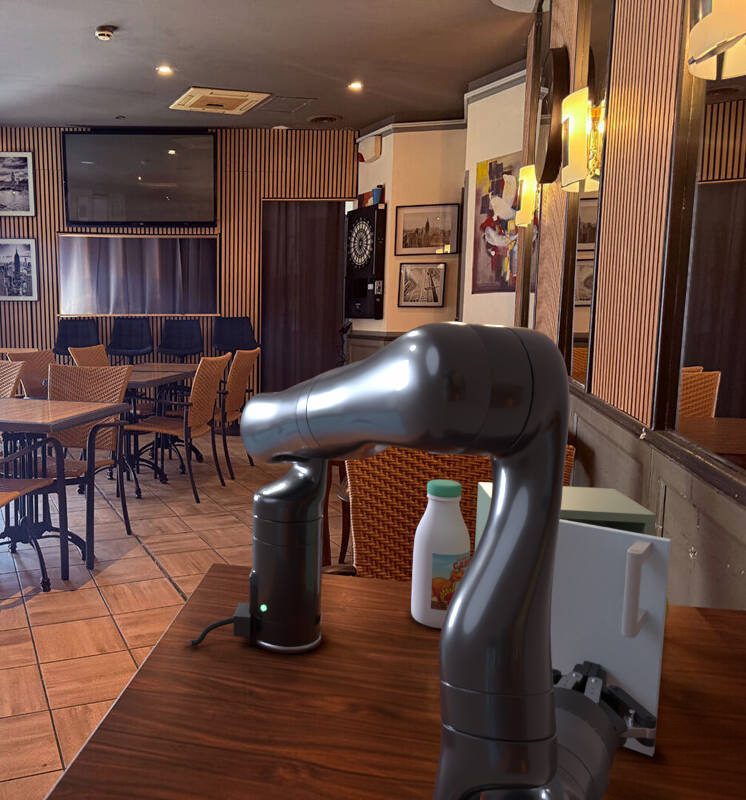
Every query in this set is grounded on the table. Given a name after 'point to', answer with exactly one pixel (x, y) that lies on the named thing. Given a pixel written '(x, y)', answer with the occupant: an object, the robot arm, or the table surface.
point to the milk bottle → (439, 553)
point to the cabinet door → (611, 608)
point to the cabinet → (584, 509)
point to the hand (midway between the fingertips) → (591, 671)
